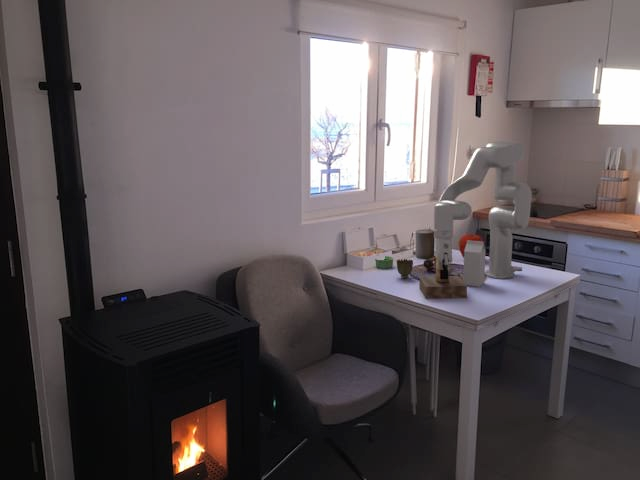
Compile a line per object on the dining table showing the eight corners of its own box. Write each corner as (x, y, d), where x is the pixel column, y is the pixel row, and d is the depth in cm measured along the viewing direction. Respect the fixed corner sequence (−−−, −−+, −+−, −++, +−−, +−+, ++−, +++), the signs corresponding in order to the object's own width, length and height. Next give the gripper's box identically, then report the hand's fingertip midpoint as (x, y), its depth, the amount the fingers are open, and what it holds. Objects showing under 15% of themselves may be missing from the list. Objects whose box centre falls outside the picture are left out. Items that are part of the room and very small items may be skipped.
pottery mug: (435, 267, 263) (443, 254, 259) (444, 280, 256) (453, 266, 252) (416, 264, 257) (424, 251, 253) (425, 277, 250) (434, 264, 246)
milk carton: (479, 287, 229) (481, 243, 225) (463, 285, 233) (464, 242, 229) (484, 282, 235) (486, 240, 231) (468, 280, 239) (469, 238, 234)
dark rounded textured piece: (412, 280, 241) (412, 263, 240) (396, 279, 243) (396, 262, 241) (413, 275, 249) (413, 258, 247) (397, 275, 250) (397, 258, 248)
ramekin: (397, 267, 264) (397, 258, 263) (383, 270, 259) (383, 261, 258) (384, 263, 271) (384, 254, 270) (371, 266, 266) (371, 257, 265)
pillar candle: (437, 256, 282) (438, 227, 279) (427, 259, 275) (427, 230, 272) (422, 253, 288) (422, 226, 285) (411, 257, 281) (411, 229, 278)
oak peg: (447, 289, 226) (447, 258, 223) (450, 293, 220) (450, 261, 217) (434, 289, 226) (434, 258, 223) (437, 293, 220) (437, 261, 218)
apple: (453, 259, 274) (453, 232, 270) (471, 256, 279) (472, 229, 276) (470, 265, 263) (471, 237, 260) (488, 261, 268) (489, 234, 265)
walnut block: (458, 287, 230) (458, 275, 229) (466, 297, 216) (467, 285, 215) (419, 288, 230) (419, 276, 229) (425, 298, 216) (425, 286, 215)
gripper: (458, 238, 209) (456, 283, 213) (447, 229, 226) (446, 271, 230) (438, 238, 209) (437, 283, 213) (429, 229, 226) (429, 271, 230)
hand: (442, 276), depth 222 cm, fingers closed on oak peg, 5 cm apart
